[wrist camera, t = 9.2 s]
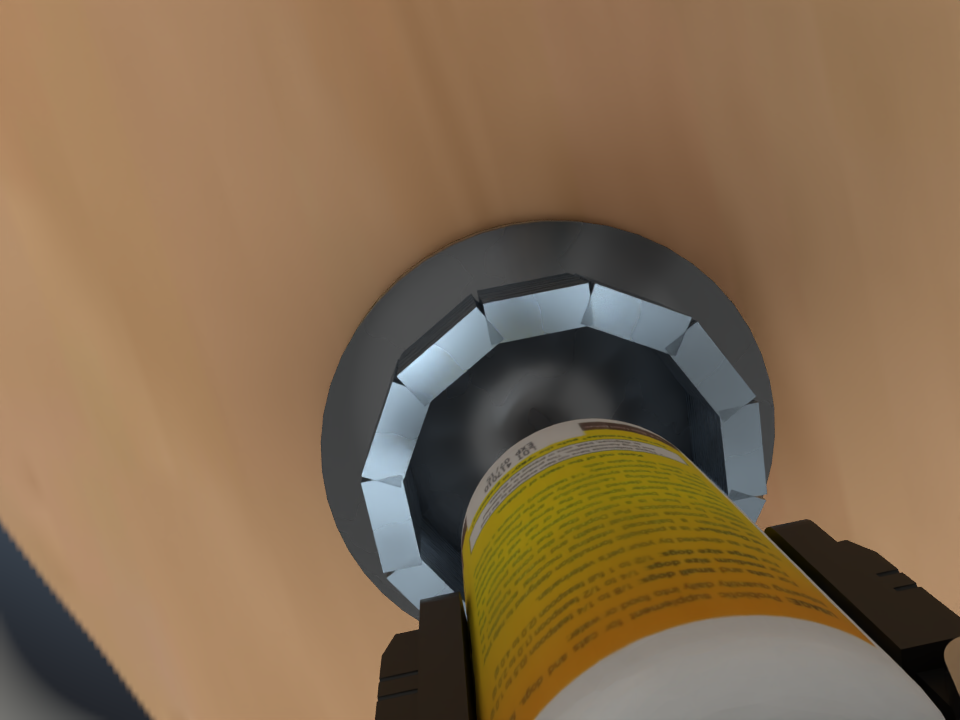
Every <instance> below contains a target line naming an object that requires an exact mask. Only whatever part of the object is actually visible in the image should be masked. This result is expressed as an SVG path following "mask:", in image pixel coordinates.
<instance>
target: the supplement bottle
mask: <svg viewBox="0 0 960 720" xmlns="http://www.w3.org/2000/svg"><path fill="white" fill-rule="evenodd" d="M461 560H462V570H463V583H464V595H465V605H466V615H467V627H468V638H469V649H470V662H471V668H472V677H473V688H474V699H475V708H476V716H477V720H946V719H945V718H944V716H943V715H942V713H941V711H940V710H939V709H938V708H937V707H936V705H935V704H934V703H933V702H932V701H931V699H930V698H929V697H928V696H927V694H926V693H925V692H924V691H923V690H922V688H921V687H920V686H919V685H918V684H917V683H916V682H915V681H914V680H913V679H912V678H911V677H910V676H909V675H908V674H907V673H906V672H905V671H904V670H903V669H902V668H901V667H900V666H899V665H898V664H897V663H896V662H895V661H894V660H893V659H892V658H891V657H890V656H889V655H888V654H887V653H886V652H885V651H884V650H883V649H881V648H880V647H879V646H878V645H877V644H876V643H875V642H874V641H873V640H872V639H871V638H870V637H869V636H868V635H867V634H866V633H865V632H864V631H863V630H862V629H861V628H860V627H859V626H858V625H857V624H856V623H855V622H854V621H853V620H852V619H851V618H850V617H849V616H848V615H847V614H846V613H845V612H844V611H843V610H842V609H841V608H840V607H839V606H837V605H836V604H835V603H834V602H833V601H832V600H831V599H830V598H829V597H828V596H827V595H826V594H825V593H824V592H823V591H822V590H821V589H820V588H819V587H818V586H817V585H816V584H815V583H814V582H813V581H812V580H811V579H810V578H809V577H808V576H807V575H806V574H805V573H804V572H803V571H802V570H801V569H800V568H799V567H798V566H797V565H796V564H795V563H794V562H793V561H792V560H791V559H790V558H789V557H788V556H787V555H786V554H785V553H784V552H783V551H782V550H781V549H780V548H779V547H778V546H777V545H776V544H775V543H774V542H773V541H772V540H771V539H770V538H769V537H768V536H767V535H766V534H765V533H764V532H763V531H762V530H761V529H760V528H759V527H758V526H757V525H756V524H755V523H754V522H753V521H752V520H751V519H750V518H749V517H748V516H747V515H746V514H745V513H744V512H743V511H742V510H741V509H740V508H739V507H738V506H737V505H736V504H735V503H734V502H733V501H732V500H731V499H730V498H728V497H727V496H726V495H725V494H724V493H723V492H722V491H721V490H720V489H719V488H718V487H717V486H716V485H715V484H714V483H713V482H712V481H711V480H710V479H709V478H708V477H707V476H706V475H705V474H704V473H703V472H702V471H701V470H700V469H699V468H698V467H697V466H696V465H695V464H694V463H693V462H692V461H690V460H689V459H688V458H687V457H686V456H685V455H684V454H683V453H682V452H681V451H680V450H678V449H677V448H676V447H675V446H674V445H672V444H671V443H670V442H668V441H667V440H665V439H664V438H662V437H661V436H659V435H657V434H655V433H653V432H651V431H649V430H647V429H644V428H642V427H639V426H636V425H633V424H630V423H626V422H622V421H616V420H608V419H594V418H591V419H578V420H572V421H567V422H562V423H558V424H555V425H552V426H549V427H546V428H544V429H542V430H539V431H537V432H535V433H533V434H531V435H529V436H528V437H526V438H524V439H522V440H521V441H519V442H518V443H516V444H515V445H513V446H512V447H511V448H510V449H508V450H507V451H506V452H505V453H504V454H503V455H502V456H501V457H500V458H499V459H498V460H497V461H496V462H495V463H494V464H493V465H492V466H491V467H490V468H489V470H488V471H487V472H486V474H485V475H484V477H483V478H482V479H481V481H480V483H479V484H478V486H477V488H476V490H475V492H474V494H473V496H472V498H471V500H470V503H469V506H468V508H467V512H466V515H465V519H464V524H463V530H462V539H461Z"/></svg>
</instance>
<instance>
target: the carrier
mask: <svg viewBox="0 0 960 720" xmlns="http://www.w3.org/2000/svg"><path fill="white" fill-rule="evenodd" d="M591 418H594V419H608V420H616V421H622V422H626V423H630V424H633V425H636V426H639V427H642V428H644V429H647V430H649V431H651V432H653V433H655V434H657V435H659V436H661V437H662V438H664V439H665V440H667V441H668V442H670V443H671V444H672V445H674V446H675V447H676V448H677V449H678V450H680V451H681V452H682V453H683V454H684V455H685V456H686V457H687V458H688V459H689V460H690V461H692V462H693V463H694V464H695V465H696V466H697V467H698V468H699V469H700V470H701V471H702V472H703V473H704V474H705V475H706V476H707V477H708V478H709V479H710V480H711V481H712V482H713V483H714V484H715V485H716V486H717V487H718V488H719V489H720V490H721V491H722V492H723V493H724V494H725V495H726V496H727V497H728V498H730V499H731V500H732V501H733V502H734V503H735V504H736V505H737V506H738V507H739V508H740V509H741V510H742V511H743V512H744V513H745V514H746V515H747V516H748V517H749V518H750V519H751V520H752V521H753V522H754V523H756V520H757V518H758V516H759V514H760V512H761V510H762V508H763V505H764V503H765V501H766V500H765V499H764V498H763V495H765V494H767V488H766V484H767V480H768V476H769V472H770V468H771V464H772V455H773V447H774V438H775V429H774V405H773V399H772V392H771V386H770V380H769V377H768V374H767V370H766V367H765V364H764V361H763V357H762V354H761V352H760V350H759V348H758V346H757V343H756V341H755V339H754V337H753V335H752V333H751V331H750V329H749V327H748V325H747V324H746V322H745V321H744V319H743V318H742V316H741V315H740V313H739V312H738V310H737V309H736V307H735V306H734V304H733V303H732V302H731V301H730V300H729V299H728V297H727V296H726V295H725V294H724V293H723V292H722V291H721V289H720V288H719V287H718V286H717V285H716V284H715V283H714V282H713V281H712V280H711V279H710V278H708V277H707V276H706V275H705V274H704V273H703V272H701V271H700V270H699V269H698V268H697V267H695V266H694V265H693V264H692V263H690V262H689V261H687V260H686V259H684V258H682V257H681V256H679V255H678V254H676V253H675V252H673V251H671V250H670V249H668V248H667V247H664V246H662V245H660V244H658V243H656V242H653V241H651V240H649V239H647V238H644V237H642V236H640V235H637V234H634V233H630V232H627V231H624V230H620V229H617V228H613V227H610V226H604V225H598V224H591V223H584V222H577V221H570V220H534V221H526V222H518V223H510V224H505V225H501V226H498V227H494V228H490V229H486V230H483V231H479V232H476V233H474V234H471V235H469V236H467V237H464V238H462V239H459V240H457V241H455V242H452V243H450V244H448V245H446V246H445V247H443V248H441V249H439V250H438V251H436V252H434V253H433V254H431V255H429V256H427V257H426V258H424V259H423V260H421V261H420V262H419V263H417V264H416V265H415V266H414V267H412V268H411V269H410V270H408V271H407V272H406V273H405V274H403V275H402V276H401V277H400V278H399V279H398V280H397V281H396V282H395V283H394V284H393V285H392V286H391V287H390V288H389V289H388V290H387V291H386V292H385V293H384V294H383V295H382V296H381V297H380V298H379V299H378V300H377V302H376V303H375V304H374V306H373V307H372V308H371V310H370V311H369V312H368V313H367V315H366V316H365V317H364V319H363V320H362V321H361V323H360V325H359V326H358V328H357V330H356V332H355V333H354V335H353V337H352V339H351V341H350V342H349V344H348V346H347V348H346V350H345V351H344V353H343V355H342V357H341V359H340V362H339V364H338V367H337V370H336V372H335V375H334V377H333V380H332V382H331V385H330V389H329V393H328V397H327V402H326V406H325V410H324V415H323V425H322V436H321V457H322V473H323V479H324V484H325V489H326V495H327V500H328V503H329V506H330V509H331V511H332V514H333V517H334V520H335V523H336V526H337V528H338V530H339V532H340V534H341V536H342V538H343V540H344V542H345V544H346V546H347V548H348V550H349V552H350V553H351V555H352V556H353V557H354V559H355V560H356V562H357V563H358V565H359V566H360V568H361V569H362V570H363V572H364V573H365V574H366V576H367V577H368V578H369V579H370V580H371V581H372V582H373V583H374V584H375V585H376V587H377V588H378V589H379V590H380V591H381V592H382V593H383V594H384V595H385V596H386V597H388V598H389V599H390V600H391V601H392V602H394V603H395V604H396V605H397V606H398V607H400V608H401V609H402V610H403V611H404V612H406V613H408V614H409V615H411V616H412V617H414V618H415V619H417V620H418V621H419V614H420V600H421V599H425V598H430V597H434V596H439V595H444V594H449V593H453V592H458V591H460V594H461V597H462V601H463V606H464V610H465V615H466V605H465V595H464V583H463V570H462V560H461V539H462V530H463V524H464V519H465V515H466V512H467V508H468V506H469V503H470V500H471V498H472V496H473V494H474V492H475V490H476V488H477V486H478V484H479V483H480V481H481V479H482V478H483V477H484V475H485V474H486V472H487V471H488V470H489V468H490V467H491V466H492V465H493V464H494V463H495V462H496V461H497V460H498V459H499V458H500V457H501V456H502V455H503V454H504V453H505V452H506V451H507V450H508V449H510V448H511V447H512V446H513V445H515V444H516V443H518V442H519V441H521V440H522V439H524V438H526V437H528V436H529V435H531V434H533V433H535V432H537V431H539V430H542V429H544V428H546V427H549V426H552V425H555V424H558V423H562V422H567V421H572V420H578V419H591ZM466 619H467V615H466Z"/></svg>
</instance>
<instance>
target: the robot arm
mask: <svg viewBox="0 0 960 720" xmlns="http://www.w3.org/2000/svg"><path fill="white" fill-rule="evenodd" d="M764 533H765V534H766V535H767V536H768V537H769V538H770V539H771V540H772V541H773V542H774V543H775V544H776V545H777V546H778V547H779V548H780V549H781V550H782V551H783V552H784V553H785V554H786V555H787V556H788V557H789V558H790V559H791V560H792V561H793V562H794V563H795V564H796V565H797V566H798V567H799V568H800V569H801V570H802V571H803V572H804V573H805V574H806V575H807V576H808V577H809V578H810V579H811V580H812V581H813V582H814V583H815V584H816V585H817V586H818V587H819V588H820V589H821V590H822V591H823V592H824V593H825V594H826V595H827V596H828V597H829V598H830V599H831V600H832V601H833V602H834V603H835V604H836V605H837V606H839V607H840V608H841V609H842V610H843V611H844V612H845V613H846V614H847V615H848V616H849V617H850V618H851V619H852V620H853V621H854V622H855V623H856V624H857V625H858V626H859V627H860V628H861V629H862V630H863V631H864V632H865V633H866V634H867V635H868V636H869V637H870V638H871V639H872V640H873V641H874V642H875V643H876V644H877V645H878V646H879V647H880V648H881V649H883V650H884V651H885V652H886V653H887V654H888V655H889V656H890V657H891V658H892V659H893V660H894V661H895V662H896V663H897V664H898V665H899V666H900V667H901V668H902V669H903V670H904V671H905V672H906V673H907V674H908V675H909V676H910V677H911V678H912V679H913V680H914V681H915V682H916V683H917V684H918V685H919V686H920V687H921V688H922V690H923V691H924V692H925V693H926V694H927V696H928V697H929V698H930V699H931V701H932V702H933V703H934V704H935V705H936V707H937V708H938V709H939V710H940V711H941V713H942V715H943V716H944V718H945V719H946V720H960V617H959V616H958V615H956V614H955V613H954V612H953V611H951V610H950V609H949V608H947V607H946V606H945V605H944V604H942V603H941V602H940V601H938V600H937V599H936V598H935V597H933V596H932V595H931V594H929V593H928V592H927V591H926V590H924V589H923V588H922V587H917V585H916V583H915V582H914V581H913V580H911V579H910V578H909V577H908V576H906V575H905V574H904V573H899V571H898V569H897V568H896V567H895V566H893V565H892V564H891V563H890V562H888V561H887V560H886V559H884V558H883V557H882V556H881V555H879V554H878V553H877V552H875V551H872V550H870V549H867V548H865V547H862V546H860V545H857V544H855V543H853V542H850V541H848V540H844V541H840V542H837V541H835V540H834V539H833V538H832V537H831V536H829V535H828V534H827V533H826V532H825V531H823V530H822V529H821V528H820V527H819V526H817V525H816V524H815V523H814V522H812V521H811V520H808V519H805V520H800V521H795V522H791V523H786V524H781V525H776V526H772V527H768V528H766V529H765V531H764ZM379 679H380V683H379V687H378V696H377V697H378V702H377V706H376V715H375V720H477V716H476V708H475V699H474V688H473V677H472V668H471V662H470V649H469V638H468V627H467V619H466V615H465V610H464V606H463V601H462V597H461V594H460V591H458V592H453V593H449V594H444V595H439V596H434V597H430V598H425V599H421V600H420V614H419V630H414V631H409V632H404V633H400V634H395V636H394V637H393V639H392V641H391V642H390V644H389V645H388V647H387V649H386V650H385V652H384V653H383V655H382V658H381V668H380V677H379Z"/></svg>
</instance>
